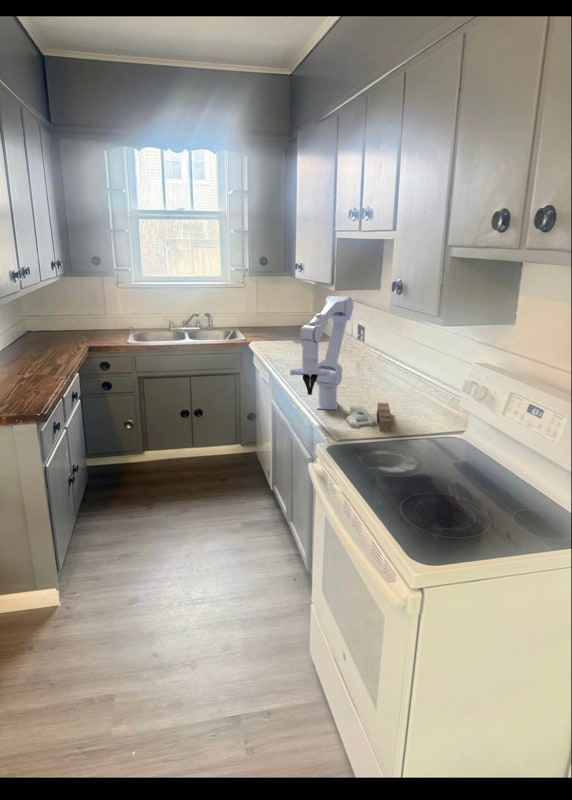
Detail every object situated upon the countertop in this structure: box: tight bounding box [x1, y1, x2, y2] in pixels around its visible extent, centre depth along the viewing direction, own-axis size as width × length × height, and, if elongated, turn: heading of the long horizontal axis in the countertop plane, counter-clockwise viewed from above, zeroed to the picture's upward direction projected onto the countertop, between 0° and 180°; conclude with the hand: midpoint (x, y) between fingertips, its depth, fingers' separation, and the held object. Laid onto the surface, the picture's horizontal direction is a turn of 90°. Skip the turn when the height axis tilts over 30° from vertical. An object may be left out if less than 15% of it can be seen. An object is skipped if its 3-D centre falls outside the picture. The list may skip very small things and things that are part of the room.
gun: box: [346, 405, 377, 429], centre depth 195 cm, size 18×4×10 cm
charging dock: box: [376, 402, 393, 432], centre depth 192 cm, size 20×5×4 cm, turn 173°
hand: (310, 394), depth 194 cm, fingers closed
